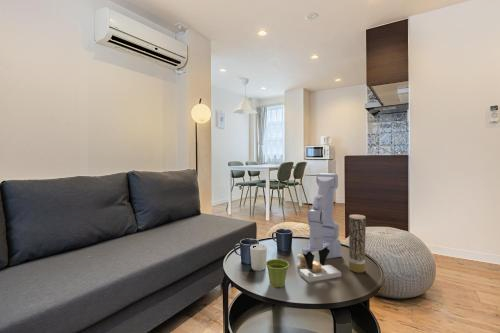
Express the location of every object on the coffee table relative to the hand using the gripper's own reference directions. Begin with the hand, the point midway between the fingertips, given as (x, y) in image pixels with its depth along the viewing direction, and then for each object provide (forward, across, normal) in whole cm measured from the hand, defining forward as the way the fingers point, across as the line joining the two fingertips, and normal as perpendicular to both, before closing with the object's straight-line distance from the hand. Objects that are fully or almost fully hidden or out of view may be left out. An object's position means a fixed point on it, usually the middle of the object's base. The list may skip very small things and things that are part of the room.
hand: (316, 266), depth 115 cm
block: (+3, 0, 0) cm, 4 cm away
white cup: (+4, +18, -19) cm, 27 cm away
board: (+3, -1, +2) cm, 4 cm away
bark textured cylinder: (+4, -19, +7) cm, 20 cm away
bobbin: (+3, -1, -8) cm, 9 cm away
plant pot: (+4, +20, -2) cm, 21 cm away
